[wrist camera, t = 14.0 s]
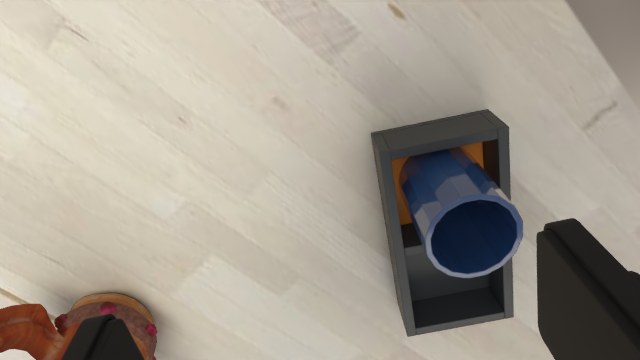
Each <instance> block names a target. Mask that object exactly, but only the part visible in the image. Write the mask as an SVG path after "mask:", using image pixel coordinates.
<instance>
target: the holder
mask: <svg viewBox="0 0 640 360" xmlns="http://www.w3.org/2000/svg"><path fill="white" fill-rule="evenodd" d="M371 137H372V144H373V150H374V156H375V162H376V169H377V175H378V181H379V187H380V193H381V200H382V206H383V212H384V218H385V224H386V231H387V237H388V243H389V249H390V256H391V262H392V268H393V274H394V280H395V287H396V293H397V299H398V305H399V309H400V312H401V316H402V319H403V323H404V326H405V329H406V333H407V336H408V337H409V336H414V335H420V334H425V333H431V332H436V331H441V330H447V329H452V328H458V327H463V326H468V325H474V324H479V323H484V322H490V321H495V320H501V319H504V318H505V319H506V318H511V317H514V314H513V275H512V257H511V258H510V259H509V260H508V261H507V262H506V263H505V264H504V265H503V266H502V267H500V268H498V269H496V270H494V271H492V272H490V273H489V274H487V275H483V276H477V277H472V278H461V277H454V276H449V275H447V274H445V273H444V272H442V271H440V270H438V269H437V268H435V267H434V265H433V264H432V262H431V261H430V259H429V258H428V256H427V255H426V252H425V250H424V248H423V245H422V243H421V241H420V239H419V236H418V234H417V232H416V229H415V227H414V225H413V222H412V220H411V218H410V215H409V213H408V211H407V208H406V206H405V204H404V201H403V199H402V197H401V193H400V189H399V175H400V171H401V168H402V166H403V165H404V163H405V161H406V160H407V159H408V158H409V157H410V156H415V155H420V154H425V153H430V152H435V151H440V150H445V149H450V148H454V147H459V146H460V147H462V148H464V149H465V150H466V151H467V152H468V153H470V154H471V155H472V156H473V158H474V159H475V160H476V161H477V162H478V163H479V165H480V166H481V167H482V168H483V169H484V171H485V172H486V173H487V174H488V175H489V176H490V178H491V179H492V180H493V181H494V182H495V184H496V185H497V186H498V187H499V188H500V189H501V191H502V192H503V193H504V194H505V195H506V196H507V198H508V199H509V200H510V201H511V196H510V157H509V127H508V126H507V125H506V124H505V123H504V122H503V121H501V120H500V119H499V118H498V117H497V116H495V115H494V114H493V113H492V112H491V111H489V110H488V109H487V110H482V111H477V112H472V113H467V114H462V115H457V116H453V117H448V118H443V119H438V120H433V121H428V122H423V123H418V124H413V125H408V126H403V127H398V128H394V129H389V130H384V131H379V132H374V133H371Z"/></svg>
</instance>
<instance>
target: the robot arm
mask: <svg viewBox="0 0 640 360" xmlns="http://www.w3.org/2000/svg"><path fill="white" fill-rule="evenodd" d="M537 297H538V327H539V331H540V334H541V336H542V339H543V341H544V342H545V344H546V346H547V347H548V349H549V350H550V352H551V354H552V355H553V357H554V359H555V360H640V275H639V274H638V273H636V272H633V271H627V270H626V269H625V268H624V267H623V266H622V265H621V264H620V263H619V262H618V261H617V260H616V259H615V258H614V257H613V256H612V255H611V254H610V253H609V252H608V251H607V250H606V249H605V248H604V247H603V246H602V245H601V244H600V243H599V242H598V241H597V240H596V239H595V238H594V237H593V236H592V235H591V234H590V233H589V232H588V231H587V230H586V229H585V228H584V227H583V225H582V224H581V223H580V222H579V221H577V220H576V219H574V218H571V219H566V220H561V221H556V222H551V223H547V224H545V226H544V231H541V232H538V233H537ZM61 360H145V359H144V357H143V356H142V354H141V352H140V350H139V348H138V346H137V344H136V343H135V341H134V339H133V337H132V335H131V333H130V331H129V330H128V328H127V326H126V324H125V322H124V321H123V320H122V319H119V318H118V319H117V318H116V317H115V316H114V315H113V314H106V315H101V316H96V317H91V318H86V319H85V320H83V321H82V322H81V324H80V326H79V327H78V329H77V331H76V333H75V335H74V337H73V338H72V340H71V342H70V344H69V346H68V347H67V349H66V351H65V353H64V355H63V357H62V358H61Z"/></svg>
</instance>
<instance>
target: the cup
mask: <svg viewBox="0 0 640 360" xmlns="http://www.w3.org/2000/svg"><path fill="white" fill-rule="evenodd" d="M399 189H400V193H401V197H402V199H403V201H404V204H405V206H406V208H407V211H408V213H409V215H410V218H411V220H412V222H413V225H414V227H415V229H416V232H417V234H418V236H419V239H420V241H421V243H422V245H423V248H424V250H425V252H426V255H427V256H428V258H429V259H430V261H431V262H432V264H433V265H434V267H435V268H437V269H438V270H440V271H442V272H444V273H445V274H447V275H449V276H454V277H461V278H472V277H477V276H483V275H487V274H489V273H490V272H492V271H494V270H496V269H498V268H500V267H502V266H503V265H504V264H505V263H506V262H507V261H508V260H509V259H510V258H511V257H512V256H513V255H514V254H515V252H516V251H517V249H518V246H519V244H520V242H521V240H522V237H523V221H522V218H521V216H520V215H519V213H518V211H517V209H516V207H515V206H514V205H513V204H512V202H511V201H510V200H509V199H508V198H507V196H506V195H505V194H504V193H503V192H502V191H501V189H500V188H499V187H498V186H497V185H496V184H495V182H494V181H493V180H492V179H491V178H490V176H489V175H488V174H487V173H486V172H485V171H484V169H483V168H482V167H481V166H480V165H479V163H478V162H477V161H476V160H475V159H474V158H473V156H472V155H471V154H470V153H468V152H467V151H466V150H465V149H464V148H462V147H460V146H459V147H454V148H450V149H445V150H440V151H435V152H430V153H425V154H420V155H415V156H410V157H409V158H408V159H407V160H406V161H405V163H404V165H403V166H402V168H401V171H400V175H399Z"/></svg>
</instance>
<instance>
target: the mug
mask: <svg viewBox="0 0 640 360" xmlns="http://www.w3.org/2000/svg"><path fill="white" fill-rule="evenodd" d="M106 314H113V315H114V316H115V317H116V318H117V319H118V318H119V319H122V320H123V321H124V322H125V324H126V326H127V328H128V330H129V331H130V333H131V335H132V337H133V339H134V341H135V343H136V344H137V346H138V348H139V350H140V352H141V354H142V356H143V357H144V359H145V360H156V358H155V356H154V352H155V348H156V343H157V339H156V334H157V329H156V327H155V324H154V320H153V319H152V315H151V314H150V313H149V312H148V311H147V310H146V309H145V308H144V307H143V306H142V305H141V304H140V303H139V302H138V301H137V300H135V299H132V298H130V297H128V296H126V295H121V294H118V293H106V294H96V295H90V296H86V297H83V298H82V299H80V300H79V301H77V302H76V303H75V305H74V306H73V307H72V309H71V311H70V312H69V313H67V314H61V315H60V316H59V317H57V318H56V319H55V322H54V323H55V327H56V328H58V329H57V330H56V328H55V327H54V325H53V324H52V322H51V320H50V318H49V316H48V314H47V311H46V309H45V308H44V307H43V306H42V305H41V304H22V305H15V306H9V307H6V308H3V309H0V353H1V352H4V351H6V350H9V349H18V350H23V351H27V352H28V353H29V354H30V355H31V356H32V357H33V358H35V359H36V360H61V358H62V357H63V355H64V353H65V351H66V349H67V347H68V346H69V344H70V342H71V340H72V338H73V337H74V335H75V333H76V331H77V329H78V327H79V326H80V324H81V322H82V321H83V320H85V319H86V318H91V317H96V316H101V315H106Z"/></svg>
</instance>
